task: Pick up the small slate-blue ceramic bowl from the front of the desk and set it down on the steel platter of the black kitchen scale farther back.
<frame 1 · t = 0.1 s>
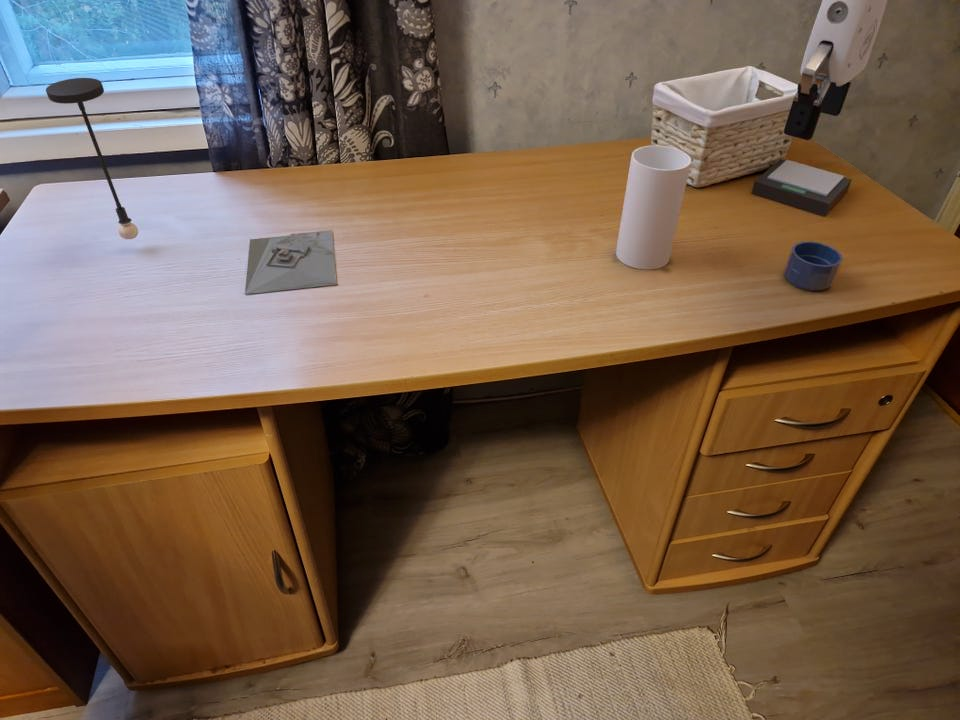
hand: (811, 124, 82), 25 cm above the table, tool pointing down, fingers open, 9 cm apart
basket: (713, 164, 130), on the table
light fixture: (135, 251, 105), on the table
bowl: (806, 279, 101), on the table
grey faceted rectangular plate: (278, 247, 106), on the table
scale: (799, 192, 122), on the table
cup: (642, 256, 105), on the table
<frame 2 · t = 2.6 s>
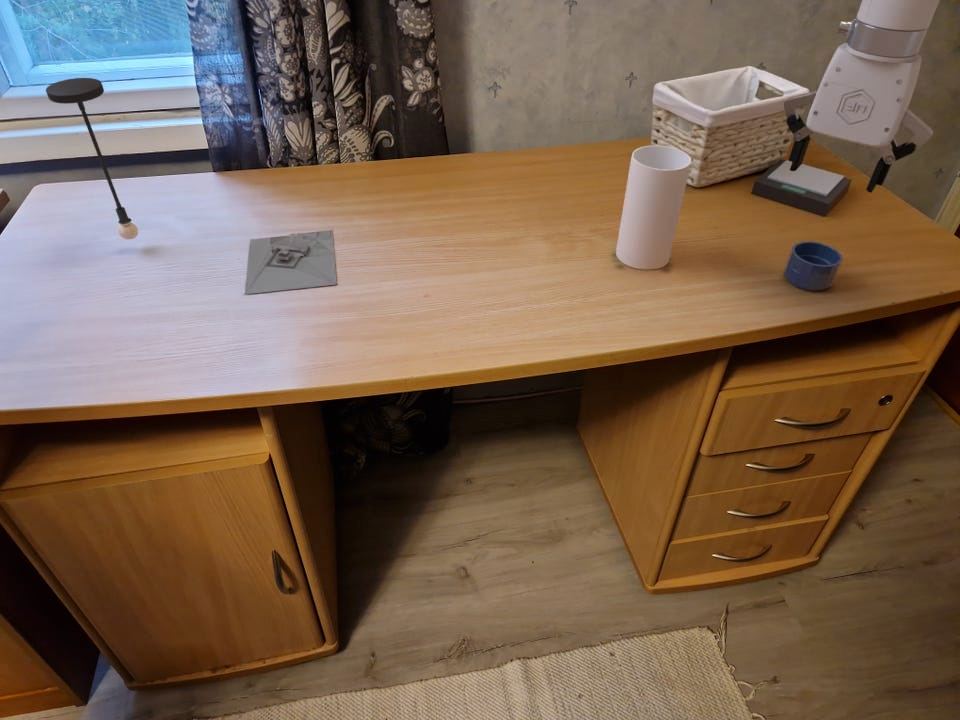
hand: (832, 177, 89), 17 cm above the table, tool pointing down, fingers open, 9 cm apart
nothing on the table moved.
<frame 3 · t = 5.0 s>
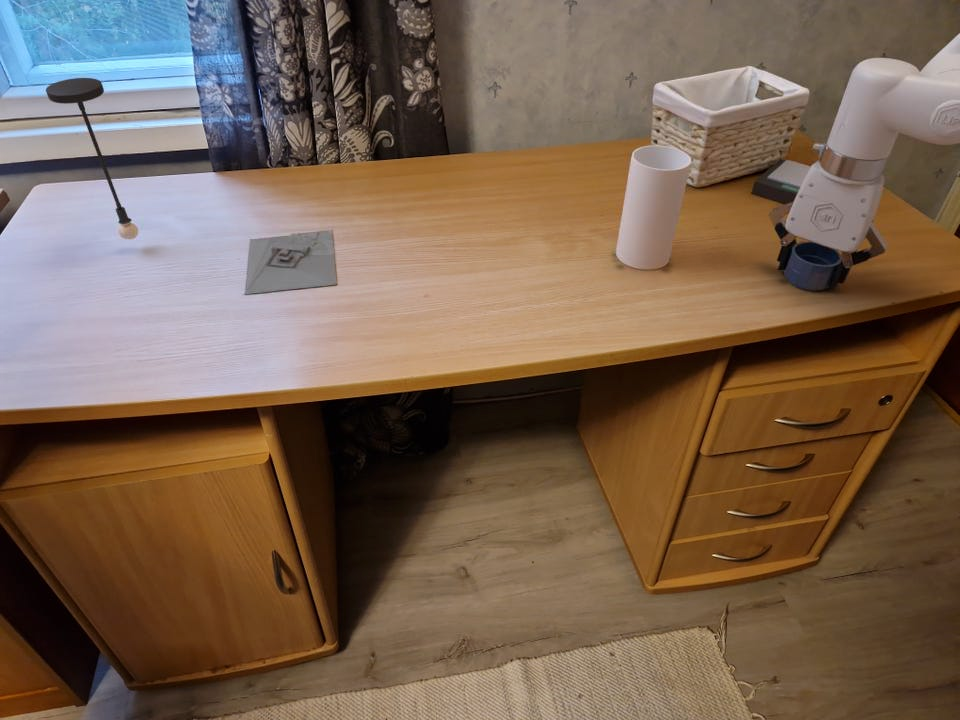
hand: (808, 275, 100), 1 cm above the table, tool pointing down, fingers closed on bowl, 6 cm apart
bowl: (806, 279, 101), on the table, touching gripper
everything else where it was.
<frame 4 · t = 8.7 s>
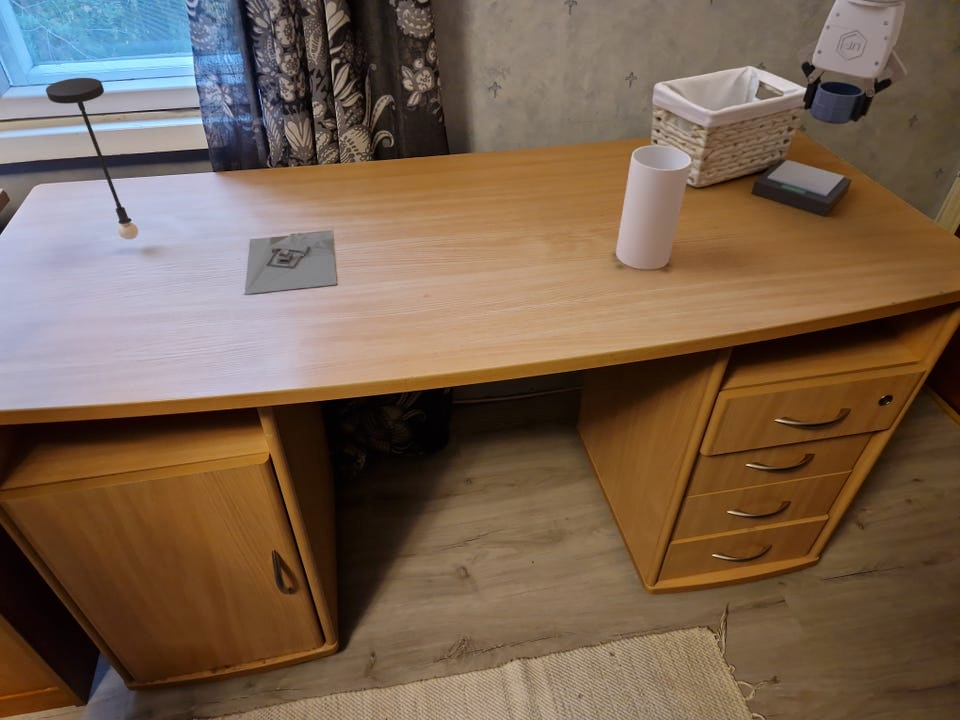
hand: (832, 112, 108), 16 cm above the table, tool pointing down, fingers closed on bowl, 6 cm apart
bowl: (830, 117, 109), point 15 cm above the table, touching gripper
everything else where it was.
when the fingers open (4 cm above the table, at t = 12.5 s): bowl stays where it is, resting on scale.
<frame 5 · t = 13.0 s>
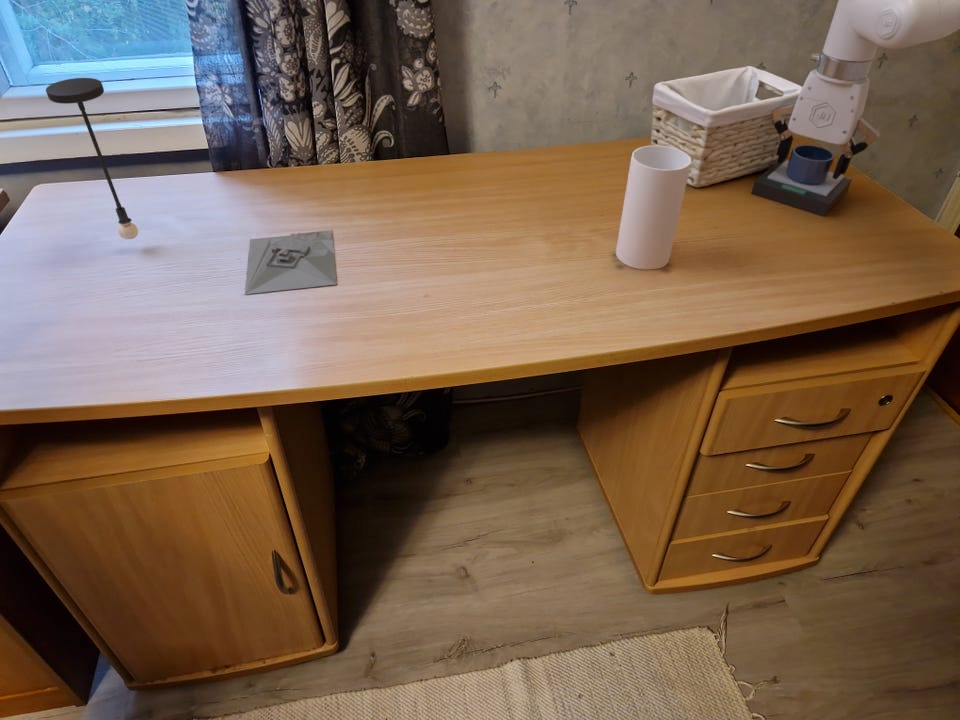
hand: (808, 168, 119), 5 cm above the table, tool pointing down, fingers open, 9 cm apart
bowl: (805, 177, 120), point 3 cm above the table, touching scale
everything else where it was.
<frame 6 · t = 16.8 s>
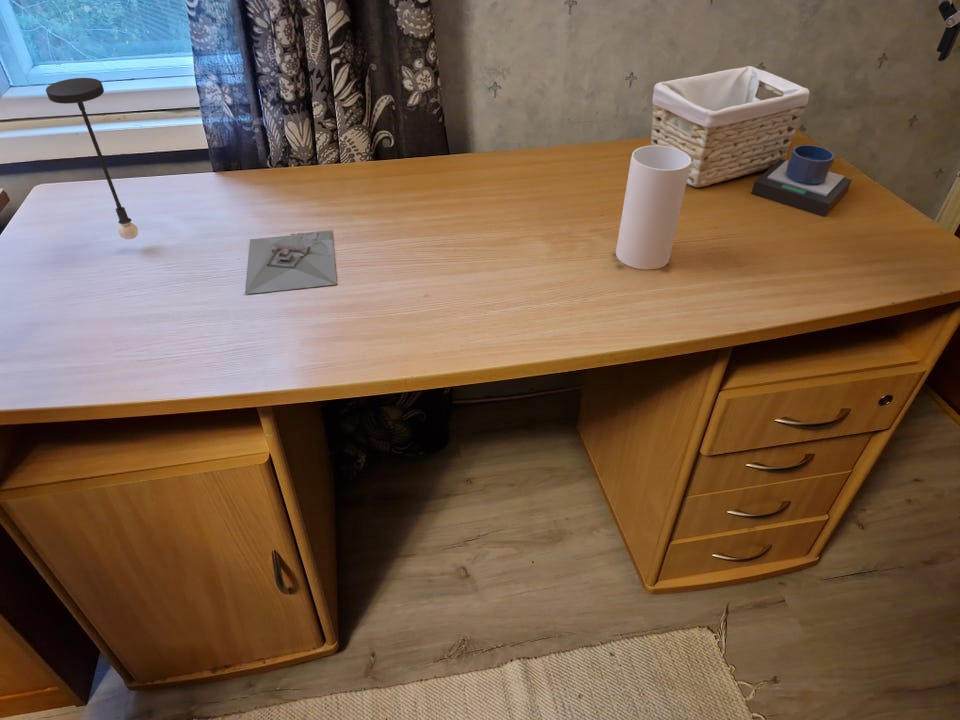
nothing on the table moved.
at the end: bowl inside the target area on the scale (0.2 cm from its centre), point 2.8 cm above the scale's base; bowl tilted 0°; the gripper is holding nothing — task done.
